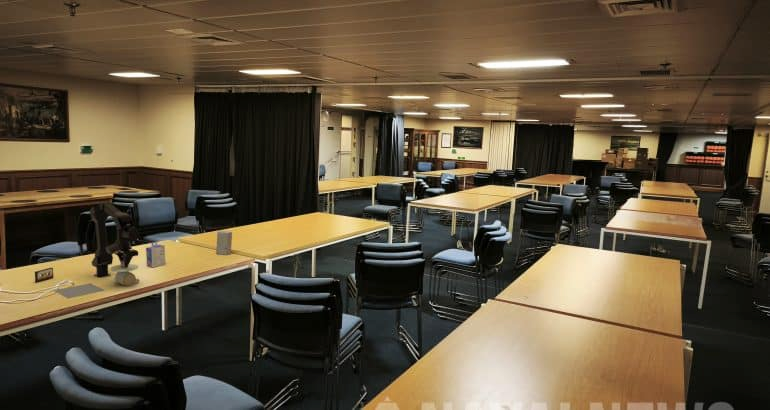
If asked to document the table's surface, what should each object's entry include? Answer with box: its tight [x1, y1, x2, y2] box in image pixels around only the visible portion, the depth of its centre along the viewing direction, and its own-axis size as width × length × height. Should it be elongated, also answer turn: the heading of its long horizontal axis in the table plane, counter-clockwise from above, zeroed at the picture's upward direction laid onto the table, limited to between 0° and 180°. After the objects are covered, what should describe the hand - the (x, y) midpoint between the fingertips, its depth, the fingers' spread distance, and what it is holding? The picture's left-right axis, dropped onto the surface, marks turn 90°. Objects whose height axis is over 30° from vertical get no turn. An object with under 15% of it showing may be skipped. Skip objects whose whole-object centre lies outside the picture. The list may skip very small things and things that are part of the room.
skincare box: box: [215, 230, 233, 256], centre depth 324 cm, size 8×7×16 cm
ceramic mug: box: [114, 271, 140, 287], centre depth 252 cm, size 11×8×8 cm
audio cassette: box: [34, 267, 55, 283], centre depth 251 cm, size 9×1×6 cm, turn 164°
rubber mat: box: [54, 282, 106, 299], centre depth 237 cm, size 17×17×1 cm
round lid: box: [110, 260, 139, 273], centre depth 249 cm, size 13×13×4 cm
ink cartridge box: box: [145, 241, 166, 268], centre depth 288 cm, size 10×6×14 cm, turn 155°
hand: (124, 266), depth 249 cm, fingers closed on round lid, 4 cm apart
